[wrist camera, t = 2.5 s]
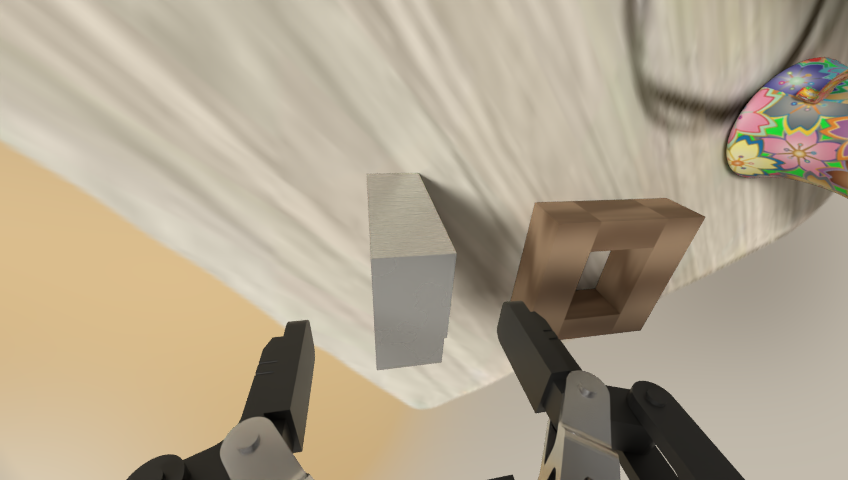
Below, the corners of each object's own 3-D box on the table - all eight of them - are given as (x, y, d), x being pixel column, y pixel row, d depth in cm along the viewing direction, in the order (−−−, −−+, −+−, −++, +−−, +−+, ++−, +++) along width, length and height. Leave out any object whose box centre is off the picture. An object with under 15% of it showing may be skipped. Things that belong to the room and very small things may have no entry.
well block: (535, 202, 24) (559, 223, 21) (666, 198, 26) (705, 216, 23) (506, 315, 30) (522, 344, 27) (614, 304, 32) (640, 330, 29)
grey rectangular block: (366, 173, 21) (370, 258, 12) (418, 173, 21) (456, 253, 13) (371, 264, 24) (377, 377, 16) (415, 261, 25) (443, 368, 17)
